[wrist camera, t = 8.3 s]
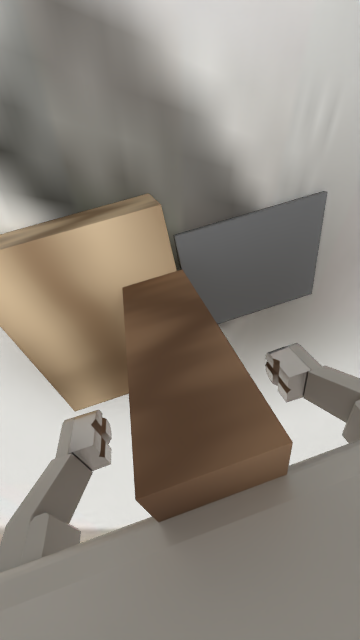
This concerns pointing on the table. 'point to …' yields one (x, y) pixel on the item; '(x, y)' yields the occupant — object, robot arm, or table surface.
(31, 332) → the oak step
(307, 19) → the table surface
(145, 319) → the walnut slab
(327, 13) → the table surface
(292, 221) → the felt pad
